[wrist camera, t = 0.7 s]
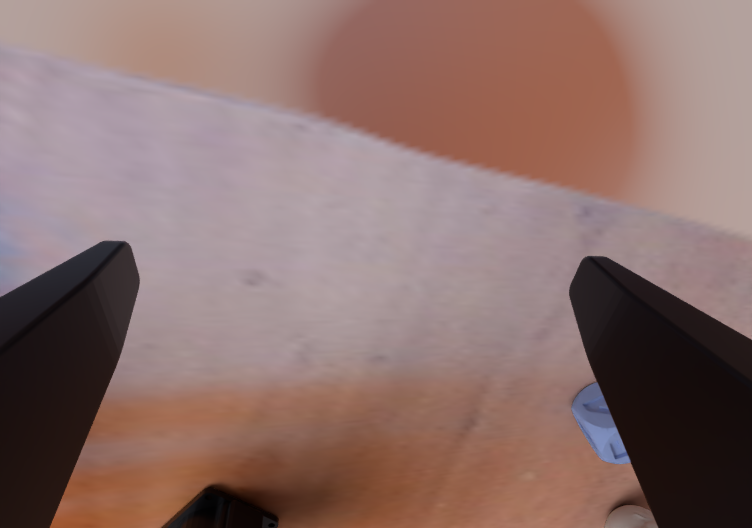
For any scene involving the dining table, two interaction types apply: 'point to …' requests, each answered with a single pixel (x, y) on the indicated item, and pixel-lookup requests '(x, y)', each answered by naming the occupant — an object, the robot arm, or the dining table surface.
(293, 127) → the dining table surface
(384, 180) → the dining table surface
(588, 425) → the decorative dice
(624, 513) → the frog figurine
